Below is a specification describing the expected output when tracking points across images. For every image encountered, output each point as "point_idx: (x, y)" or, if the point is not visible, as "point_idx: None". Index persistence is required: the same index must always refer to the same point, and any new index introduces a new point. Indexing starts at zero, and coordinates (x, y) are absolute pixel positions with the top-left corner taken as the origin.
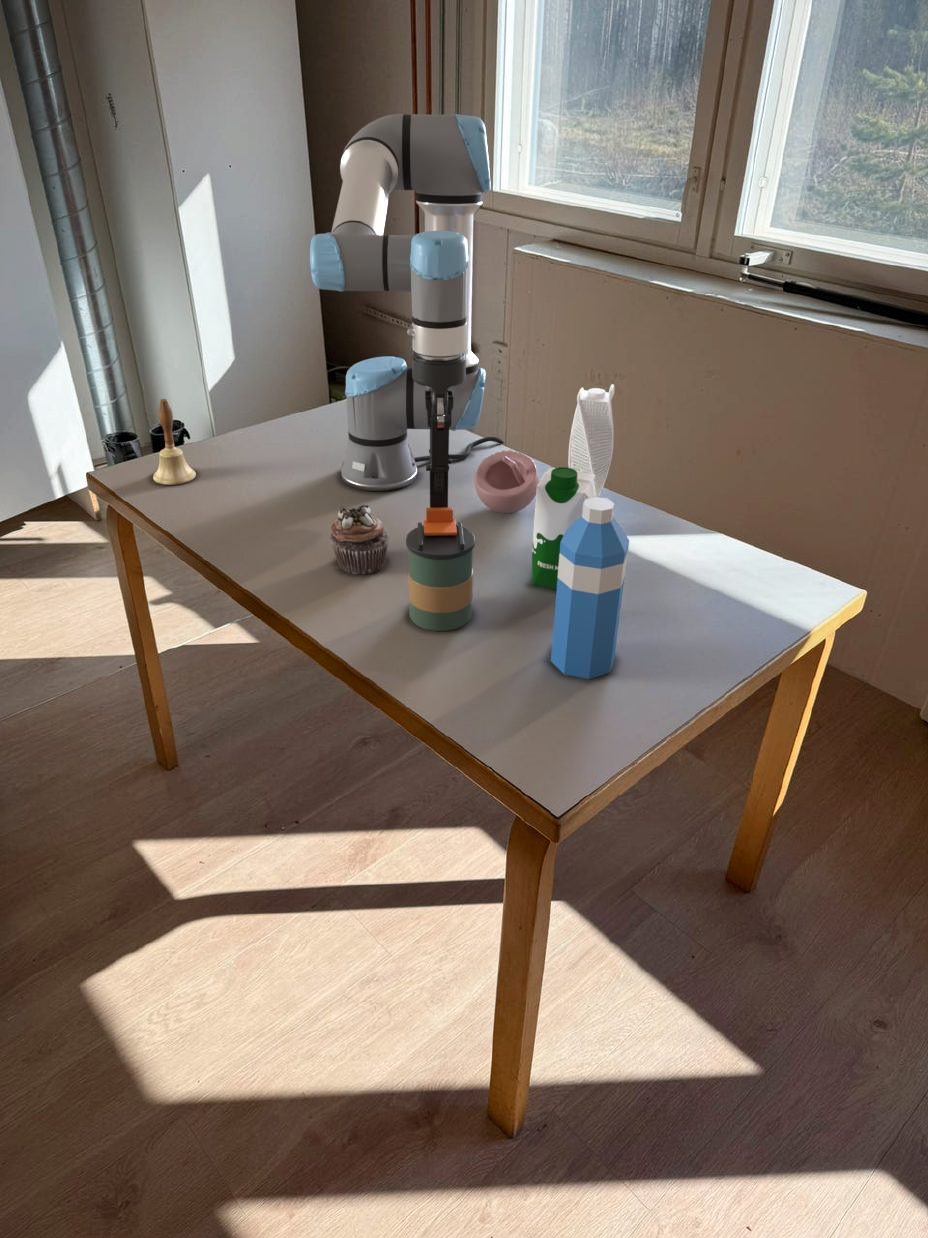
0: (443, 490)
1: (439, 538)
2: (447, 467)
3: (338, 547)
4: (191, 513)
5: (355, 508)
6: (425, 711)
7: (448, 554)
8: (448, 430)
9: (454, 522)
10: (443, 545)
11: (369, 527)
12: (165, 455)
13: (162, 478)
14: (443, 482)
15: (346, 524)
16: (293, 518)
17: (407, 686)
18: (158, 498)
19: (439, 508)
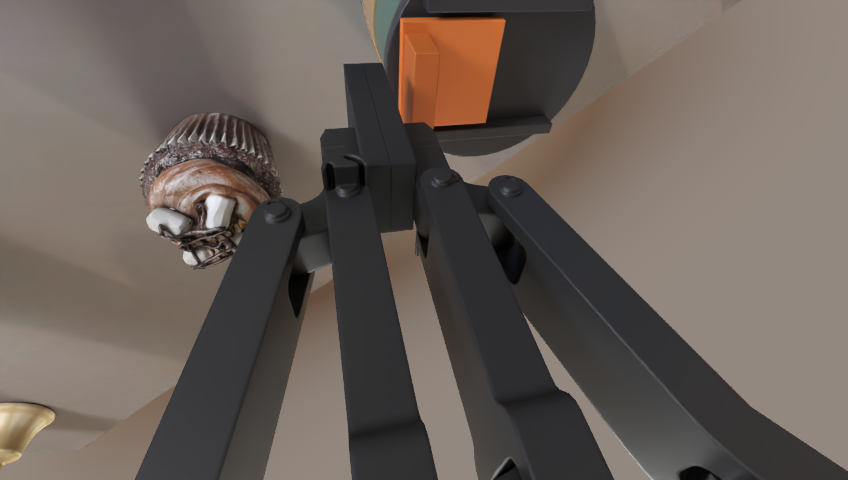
0: (426, 127)
1: None
2: (535, 196)
3: None
4: (132, 370)
5: (181, 245)
6: (696, 22)
7: (592, 44)
8: (744, 405)
9: (430, 25)
10: (537, 59)
11: (238, 199)
12: (19, 455)
13: (47, 422)
14: (439, 149)
15: None
16: (73, 279)
17: (627, 51)
18: (104, 402)
19: (420, 103)
